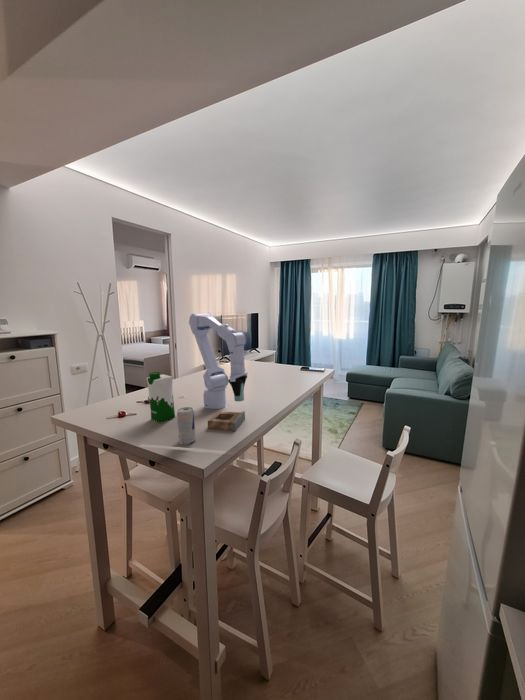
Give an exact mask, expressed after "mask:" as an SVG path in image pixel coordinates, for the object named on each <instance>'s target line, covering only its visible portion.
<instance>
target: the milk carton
mask: <svg viewBox="0 0 525 700" xmlns="http://www.w3.org/2000/svg"><path fill="white" fill-rule="evenodd" d="M145 380H146V383H147V388H148V389H147V390H148V396H149V405H150V407H149V408H150V419H153V420H152V421H154V420H155V421H154V422H156V421H157V422H156V423H158V422H159V424H162V423H161V422H163V423H164V421H166V422H168V421H171V420H173V419H174V418H176V413H175V411H176V410H175V404H174V403H175V401H174V391H173V380H174V377H173V376H171V375H168V374H164V373H163V374H161V372H159V371H153V372H149V377H146V379H145ZM170 419H171V420H170ZM167 420H168V421H167Z"/></svg>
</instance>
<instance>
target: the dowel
mask: <svg viewBox="0 0 525 700" xmlns="http://www.w3.org/2000/svg"><path fill="white" fill-rule="evenodd" d="M233 396H234V395H233ZM233 399H234V401H235V402H244V400H245V385H244V386H243V383H242V384H241V392H240V396H234V397H233Z"/></svg>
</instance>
